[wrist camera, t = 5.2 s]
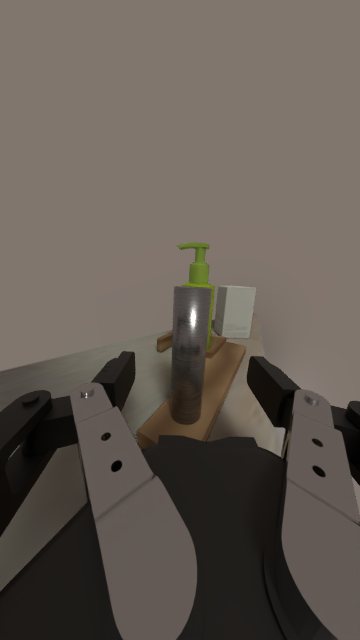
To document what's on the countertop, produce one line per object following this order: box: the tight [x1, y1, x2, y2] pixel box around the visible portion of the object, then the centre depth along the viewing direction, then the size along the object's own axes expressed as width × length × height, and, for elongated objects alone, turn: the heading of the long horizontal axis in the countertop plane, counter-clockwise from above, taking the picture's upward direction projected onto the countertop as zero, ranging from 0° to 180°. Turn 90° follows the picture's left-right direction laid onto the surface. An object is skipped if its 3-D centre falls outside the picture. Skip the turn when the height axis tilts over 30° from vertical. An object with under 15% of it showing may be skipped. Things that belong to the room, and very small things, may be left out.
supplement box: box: [214, 286, 256, 338], centre depth 44 cm, size 7×7×13 cm
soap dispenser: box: [177, 243, 215, 352], centre depth 31 cm, size 6×7×20 cm
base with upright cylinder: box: [138, 286, 246, 449], centre depth 25 cm, size 15×25×14 cm, turn 150°
